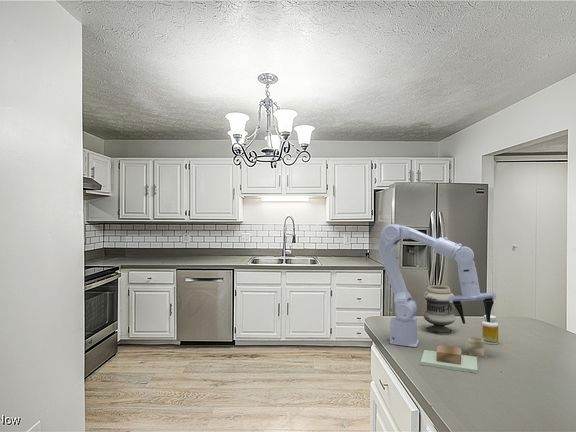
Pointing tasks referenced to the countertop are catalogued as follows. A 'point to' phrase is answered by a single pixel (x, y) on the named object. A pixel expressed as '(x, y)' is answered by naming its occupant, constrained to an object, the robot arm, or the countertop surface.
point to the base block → (449, 354)
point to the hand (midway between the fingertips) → (476, 322)
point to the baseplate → (466, 363)
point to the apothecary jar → (439, 309)
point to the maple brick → (476, 347)
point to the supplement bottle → (490, 330)
